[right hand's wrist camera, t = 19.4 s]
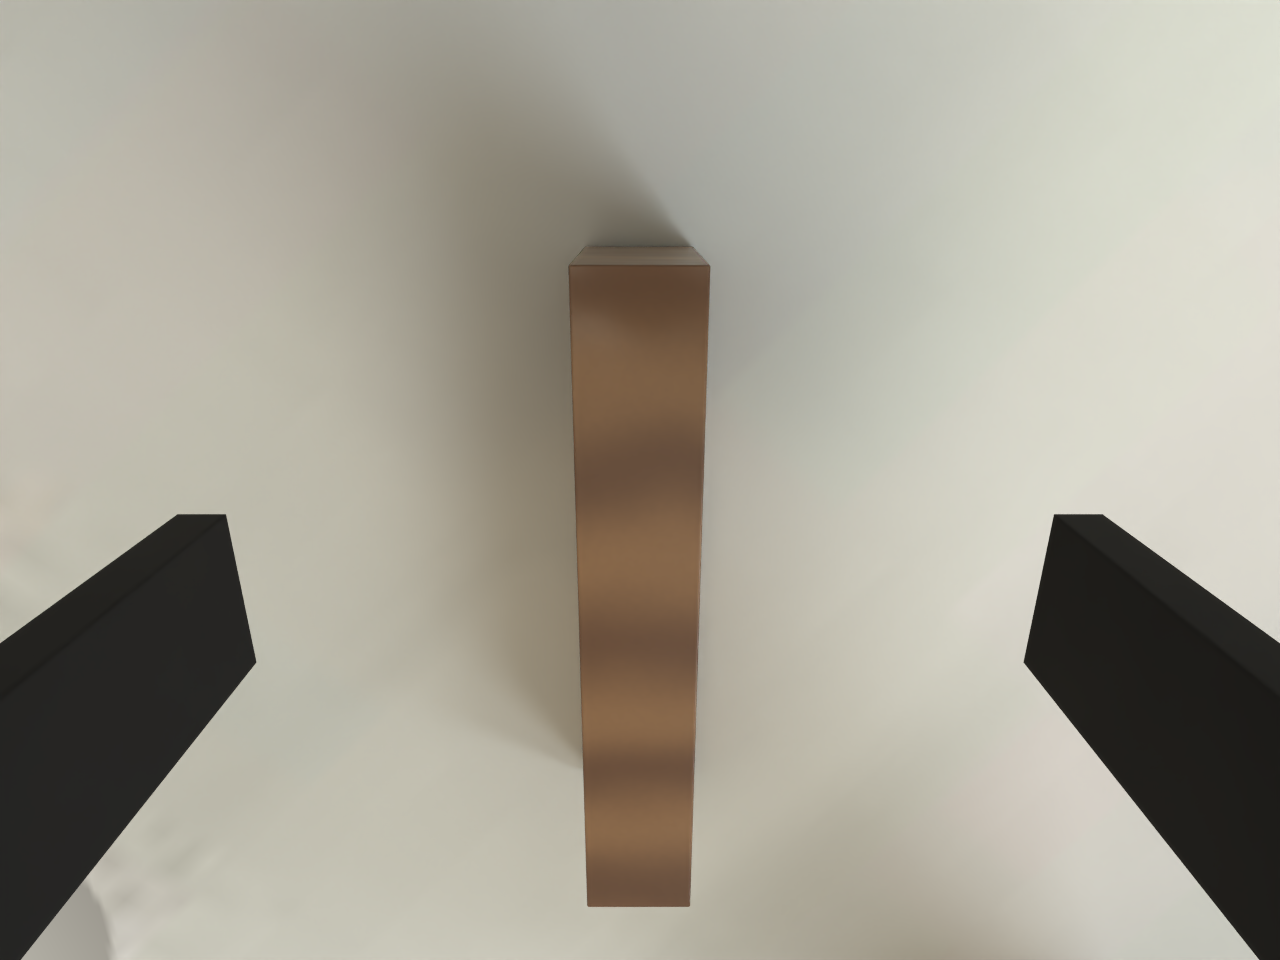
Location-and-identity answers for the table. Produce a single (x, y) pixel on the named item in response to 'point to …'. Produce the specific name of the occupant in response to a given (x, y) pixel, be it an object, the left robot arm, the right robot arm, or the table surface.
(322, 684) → the table surface
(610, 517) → the bar
